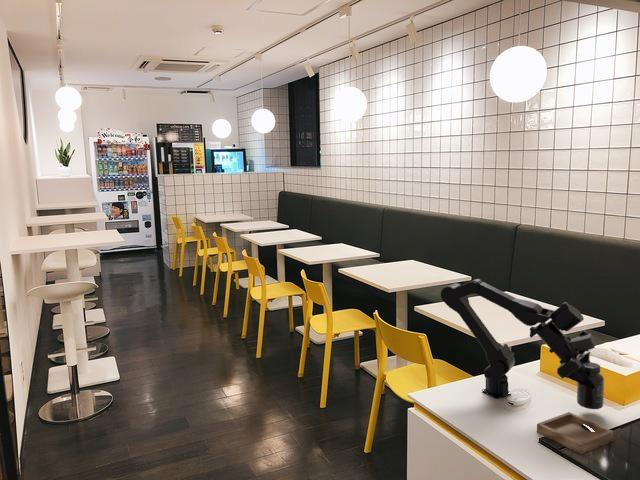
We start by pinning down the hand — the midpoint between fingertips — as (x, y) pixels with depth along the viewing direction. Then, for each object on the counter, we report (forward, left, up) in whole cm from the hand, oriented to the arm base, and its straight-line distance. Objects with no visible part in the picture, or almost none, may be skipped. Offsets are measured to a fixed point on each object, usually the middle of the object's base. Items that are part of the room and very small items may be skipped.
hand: (596, 383), depth 146 cm
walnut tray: (+5, -16, -9) cm, 19 cm away
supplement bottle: (-1, -1, -7) cm, 7 cm away
